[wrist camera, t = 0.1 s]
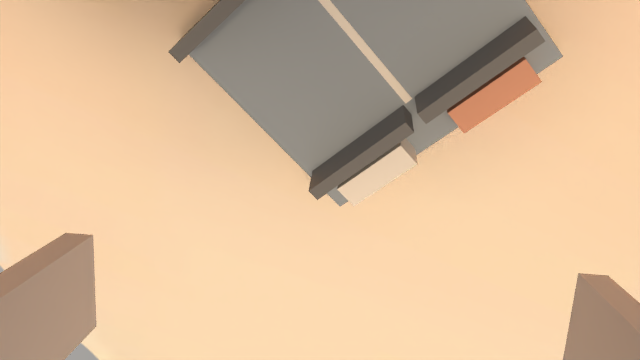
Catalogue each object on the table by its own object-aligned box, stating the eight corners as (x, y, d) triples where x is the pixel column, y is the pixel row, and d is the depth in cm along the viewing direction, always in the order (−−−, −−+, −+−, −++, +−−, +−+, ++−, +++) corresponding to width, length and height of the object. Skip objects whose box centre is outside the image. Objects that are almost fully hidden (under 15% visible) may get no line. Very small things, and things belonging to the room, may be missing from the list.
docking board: (402, -179, 32) (405, -182, 29) (558, 50, 38) (577, 71, 35) (182, 37, 40) (163, 56, 36) (340, 198, 46) (338, 228, 43)
